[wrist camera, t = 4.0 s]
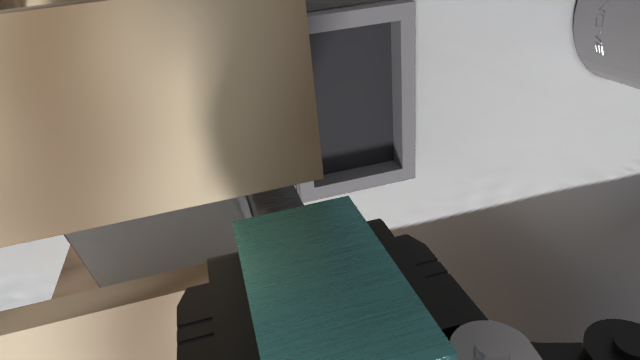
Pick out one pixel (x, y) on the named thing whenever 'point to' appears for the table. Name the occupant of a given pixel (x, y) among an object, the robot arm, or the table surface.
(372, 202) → the table surface
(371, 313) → the slider
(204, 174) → the tunnel
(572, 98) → the table surface
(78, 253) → the small box
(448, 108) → the table surface
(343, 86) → the tray
